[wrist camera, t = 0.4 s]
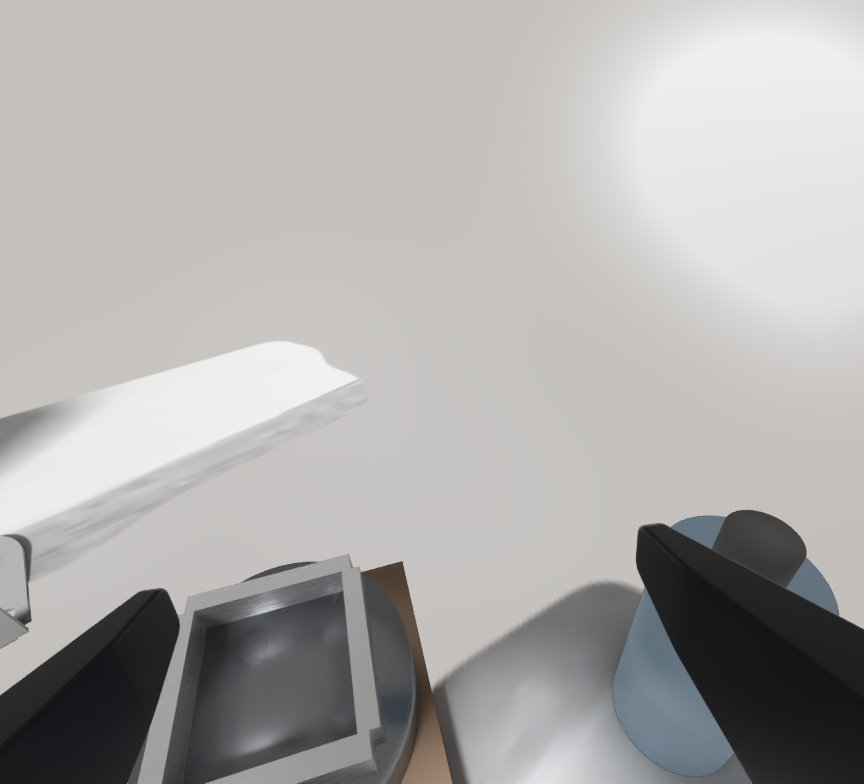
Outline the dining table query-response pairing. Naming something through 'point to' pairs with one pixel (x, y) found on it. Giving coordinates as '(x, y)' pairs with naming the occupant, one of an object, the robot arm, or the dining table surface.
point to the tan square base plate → (298, 685)
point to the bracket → (13, 591)
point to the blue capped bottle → (660, 665)
